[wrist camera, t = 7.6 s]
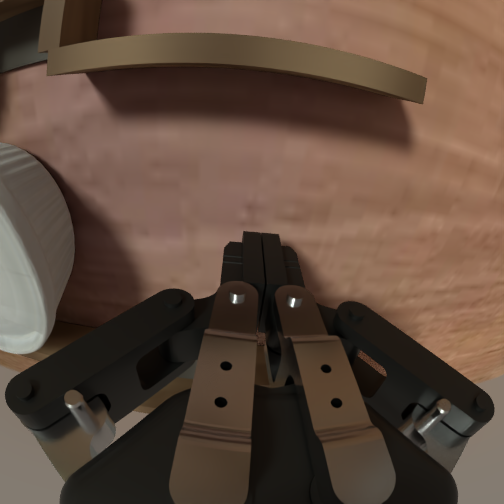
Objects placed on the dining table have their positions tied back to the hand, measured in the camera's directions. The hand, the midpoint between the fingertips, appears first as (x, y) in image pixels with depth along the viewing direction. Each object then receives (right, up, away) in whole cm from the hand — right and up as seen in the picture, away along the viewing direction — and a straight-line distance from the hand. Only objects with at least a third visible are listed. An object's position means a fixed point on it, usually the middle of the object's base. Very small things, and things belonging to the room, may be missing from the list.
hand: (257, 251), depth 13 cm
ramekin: (-14, +2, 0) cm, 14 cm away
